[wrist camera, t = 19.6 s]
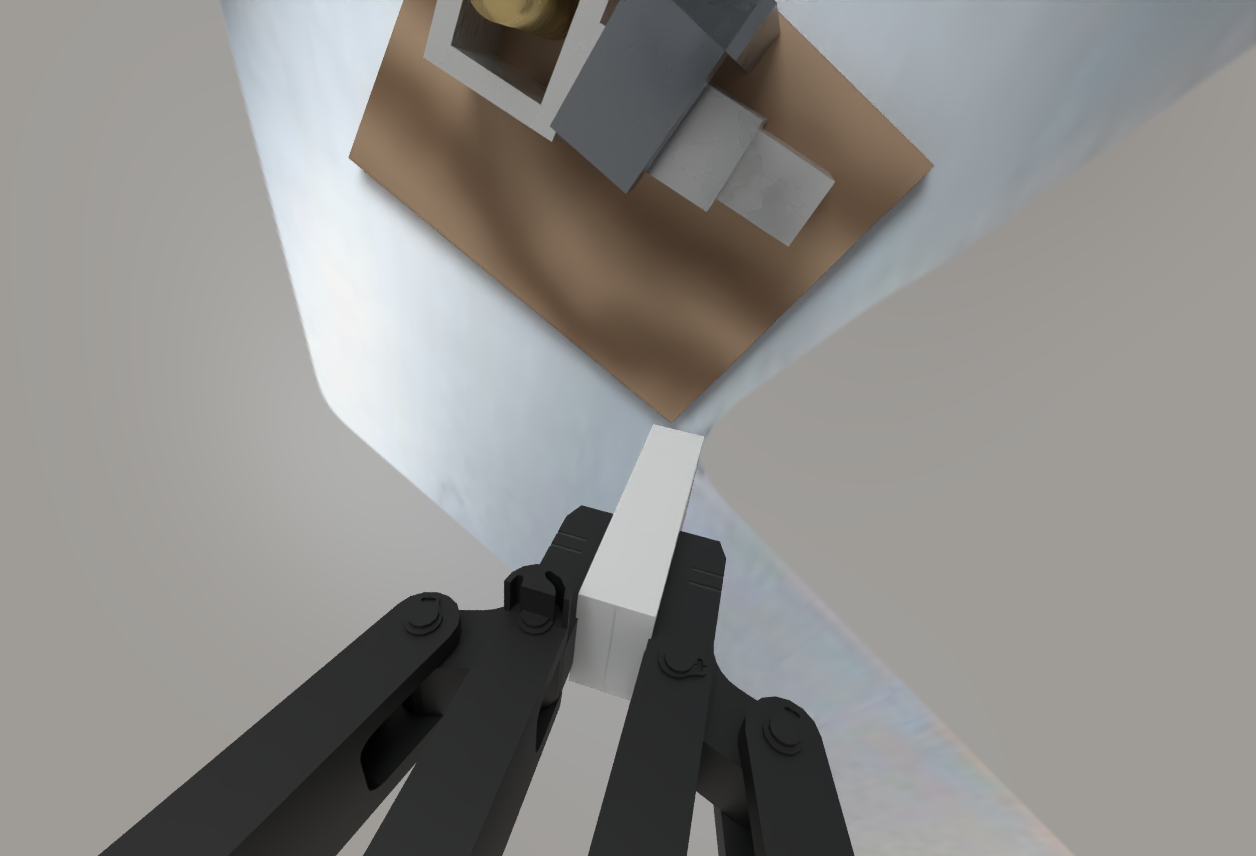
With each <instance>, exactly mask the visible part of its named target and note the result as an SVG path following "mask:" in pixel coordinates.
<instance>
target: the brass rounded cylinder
mask: <svg viewBox="0 0 1256 856" xmlns="http://www.w3.org/2000/svg"><path fill="white" fill-rule="evenodd" d="M470 1H471V3H472V5H473V6H474V8H475V9H476V10H477V11H478V13H479V14H480V15H482V16H483V17H484V18H486V19H488V20H490V21H492V22H495V23H499V24H502V25H505V26H508V27H512V28H515V29H518V30H521V31H525V32H528V33H531V34H535V35H538V36H541V37H544V38H548V39H551V40H557V41H558V40H563V39H566V36H567V34H568V31H569V28H570V26H571V23H572V20H573V18H574V15H575V12H576V10H577V7H578V4H579V2H580V0H470Z"/></svg>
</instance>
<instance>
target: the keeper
mask: <svg viewBox="0 0 1256 856" xmlns="http://www.w3.org/2000/svg"><path fill="white" fill-rule="evenodd" d="M780 33H781V31H780V23H779V15H778V8H777V3H776V2H775V1H774V0H620V1H619V3H618V5H617V6H616V8H615V10H614V12H613V14H612V15H611V17H610V19H609V21H608V23H607V24H606V26H605V28H604V30H603V32H602V33H601V35H600V37H599V39H598V40H597V42H596V44H595V46H594V48H593V49H592V51H591V53H590V55H589V57H588V58H587V60H586V62H585V64H584V66H583V67H582V69H581V71H580V73H579V75H578V76H577V78H576V80H575V82H574V83H573V85H572V87H571V89H570V91H569V92H568V94H567V96H566V98H565V100H564V101H563V103H562V105H561V107H560V109H559V110H558V112H557V114H556V116H555V118H554V119H553V121H552V123H551V125H550V127H551V128H552V129H553V130H554V131H555V132H556V133H558V134H559V135H560V136H561V137H562V138H563V139H564V140H566V141H567V142H568V143H569V144H570V145H571V146H572V147H573V148H575V149H576V150H577V151H578V152H579V153H580V154H581V155H582V156H584V157H585V158H586V159H587V160H588V161H589V162H590V163H592V164H593V165H594V166H595V167H596V168H597V169H598V170H599V171H601V172H602V173H603V174H604V175H605V176H606V177H607V178H609V179H610V180H611V181H612V182H613V183H614V184H615V185H616V186H618V187H619V188H620V189H621V190H622V191H623V192H624V193H625V194H627V193H629V192H631V191H633V190H634V189H635V187H636V186H637V184H638V183H639V181H640V180H641V178H642V177H643V176H644V174H645V173H646V171H647V170H648V168H649V167H650V166H651V164H652V163H653V161H654V160H655V158H656V157H657V156H658V154H659V153H660V151H661V150H662V148H663V147H664V146H665V144H666V143H667V141H668V140H669V138H670V137H671V136H672V134H673V133H674V131H675V130H676V128H677V127H678V125H679V124H680V123H681V121H682V120H683V118H684V117H685V115H686V114H687V113H688V111H689V110H690V108H691V107H692V105H693V104H694V103H695V101H696V100H697V98H698V97H699V95H700V94H701V93H702V91H703V90H704V88H705V87H706V85H707V84H708V83H709V81H710V80H711V78H712V77H713V75H714V74H715V72H716V71H717V70H718V68H719V67H720V65H721V64H722V62H723V61H724V60H725V58H726V57H727V55H728V54H729V55H730V56H731V57H732V58H733V59H734V60H735V61H736V62H737V63H738V64H739V65H740V66H741V67H742V68H743V69H745V70H746V71H747V72H748V73H749V74H751V72H752V71H753V70H754V68H755V67H756V66H757V64H758V63H759V62H760V60H761V59H762V57H763V56H764V55H765V53H766V52H767V51H768V49H769V48H770V47H771V45H772V44H773V43H774V41H775V40H776V38H777V37H778V36H779V34H780Z"/></svg>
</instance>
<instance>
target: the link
mask: <svg viewBox="0 0 1256 856" xmlns="http://www.w3.org/2000/svg"><path fill="white" fill-rule="evenodd" d="M619 1H620V0H580V2H579V4H578V7H577V10H576V12H575V15H574V18H573V20H572V23H571V26H570V28H569V31H568V34H567V36H566V39H565V42H564V44H563V47H562V50H561V52H560V55H559V58H558V60H557V63H556V66H555V69H554V71H553V74H552V77H551V79H550V82H549V85H548V87H547V88H545V87H544V86H542V85H541V84H539V83H538V82H536V81H535V80H533V79H532V78H530V77H529V76H527V75H526V74H524V73H523V72H521V71H520V70H518V69H517V68H515V67H514V66H512V65H511V64H509V63H508V62H506V61H505V60H503V59H502V58H500V57H499V56H497V55H496V54H495V53H496V50H497V46H498V43H499V40H500V37H501V34H502V30H503V27H504V25H502V24H499V23H495V22H492V21H490V20H488V19H486V18H484V17H483V16H482V15H480V14H479V13H478V11H477V10H476V9H475V8H474V6H473V5H472V3H471V1H470V0H437V3H436V7H435V11H434V16H433V20H432V24H431V28H430V32H429V36H428V40H427V44H426V48H425V52H424V56H423V58H425V59H426V60H428V61H430V62H431V63H433V64H434V65H436V66H437V67H439V68H440V69H442V70H443V71H445V72H446V73H448V74H449V75H451V76H452V77H454V78H455V79H457V80H458V81H460V82H461V83H463V84H464V85H466V86H468V87H469V88H471V89H472V90H474V91H475V92H477V93H478V94H480V95H481V96H483V97H484V98H486V99H487V100H489V101H490V102H492V103H493V104H495V105H496V106H498V107H499V108H501V109H502V110H504V111H506V112H507V113H509V114H510V115H512V116H513V117H515V118H516V119H518V120H519V121H521V122H522V123H524V124H525V125H527V126H528V127H530V128H531V129H533V130H534V131H536V132H537V133H539V134H540V135H542V136H544V137H545V138H547V139H548V140H550V141H551V142H556V141H564V139H563V138H562V137H561V136H560V135H559V134H558V133H556V132H555V131H554V130H553V129H552V128H551V127H550V125H551V123H552V121H553V119H554V118H555V116H556V114H557V112H558V110H559V109H560V107H561V105H562V103H563V101H564V100H565V98H566V96H567V94H568V92H569V91H570V89H571V87H572V85H573V83H574V82H575V80H576V78H577V76H578V75H579V73H580V71H581V69H582V67H583V66H584V64H585V62H586V60H587V58H588V57H589V55H590V53H591V51H592V49H593V48H594V46H595V44H596V42H597V40H598V39H599V37H600V35H601V33H602V32H603V30H604V28H605V26H606V24H607V23H608V21H609V19H610V17H611V15H612V14H613V12H614V10H615V8H616V6H617V5H618V3H619ZM767 120H768V119H766V118H765V117H764V116H762V115H761V114H759V113H758V112H756V111H755V110H753V109H752V108H750V107H749V106H747V105H746V104H744V103H743V102H741V101H740V100H738V99H737V98H736V97H734V96H733V95H731V94H730V93H728V92H727V91H725V90H724V89H722V88H721V87H719V86H718V85H716V84H715V83H713V82H712V81H709V83H708V84H707V85H706V87H705V88H704V90H703V91H702V93H701V94H700V95H699V97H698V98H697V100H696V101H695V103H694V104H693V105H692V107H691V108H690V110H689V111H688V113H687V114H686V115H685V117H684V118H683V120H682V121H681V123H680V124H679V125H678V127H677V128H676V130H675V131H674V133H673V134H672V136H671V137H670V138H669V140H668V141H667V143H666V144H665V146H664V147H663V148H662V150H661V151H660V153H659V154H658V156H657V157H656V158H655V160H654V161H653V163H652V164H651V166H650V167H649V168H648V170H647V171H646V172H647V173H649V174H650V175H652V176H653V177H655V178H656V179H658V180H659V181H661V182H662V183H664V184H665V185H667V186H668V187H670V188H671V189H673V190H674V191H676V192H677V193H679V194H680V195H682V196H683V197H685V198H686V199H688V200H689V201H691V202H692V203H694V204H695V205H697V206H698V207H700V208H701V209H703V210H704V211H706V212H708V210H709V209H710V208H711V207H712V206H713V205H714V203H715V202H716V201H717V200H719V201H720V202H722V203H723V204H725V205H726V206H728V207H729V208H731V209H732V210H734V211H735V212H737V213H738V214H740V215H741V216H743V217H744V218H746V219H747V220H749V221H750V222H752V223H753V224H755V225H756V226H758V227H759V228H761V229H762V230H764V231H765V232H767V233H768V234H770V235H771V236H773V237H774V238H776V239H777V240H779V241H780V242H782V243H783V244H785V245H786V246H788V247H789V245H790V244H791V242H792V241H793V240H794V238H795V237H796V235H797V234H798V233H799V231H800V230H801V229H802V227H803V226H804V224H805V223H806V222H807V220H808V219H809V217H810V216H811V215H812V213H813V212H814V211H815V209H816V208H817V206H818V205H819V204H820V202H821V201H822V200H823V198H824V197H825V195H826V194H827V193H828V191H829V190H830V188H831V187H832V186H833V184H834V183H835V181H834V179H833V177H832V176H831V174H830V173H829V172H828V171H826V170H825V169H823V168H822V167H820V166H819V165H818V164H816V163H815V162H813V161H812V160H810V159H809V158H807V157H806V156H804V155H803V154H801V153H800V152H798V151H797V150H795V149H794V148H792V147H791V146H789V145H788V144H786V143H785V142H784V141H782V140H781V139H779V138H778V137H776V136H775V135H773V134H772V133H770V132H769V131H767V130H766V129H764V128H763V126H764V125H765V123H766V121H767Z"/></svg>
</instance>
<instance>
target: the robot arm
mask: <svg viewBox="0 0 1256 856" xmlns="http://www.w3.org/2000/svg"><path fill="white" fill-rule="evenodd" d="M703 440H704V436H700V435H696V434H692V433H687V432H683V431H679V430H675V429H671V428H667V427H663V426H659V425H654V424H653V426H652V428H651V431H650V433H649V435H648V437H647V440H646V442H645V444H644V446H643V449H642V451H641V453H640V456H639V458H638V460H637V462H636V465H635V467H634V469H633V471H632V474H631V476H630V478H629V480H628V483H627V485H626V487H625V489H624V492H623V494H622V496H621V499H620V501H619V503H618V505H617V508H616V510H615V512H614V514H611V513H608V512H604V511H600V510H597V509H593V508H589V507H586V506H582V505H581V506H580V507H579V508H577V509H576V510H574V511H573V512H572V513H570V514H569V515H567V516H566V518H565V520H564V522H563V523H562V525H561V527H560V529H559V531H558V534H556V536H555V538H554V540H553V541H552V544H551V546H550V547H549V549H548V550H547V552H546V554H545V556H544V558H543V559H542V561H541V563H540V564H534V565H528V566H523V567H521V568H519V569H517V570H515V571H513V572H512V573H511V574H510V575H509V576H508V577H507V578H506V579H505V581H504V607H501V608H497V609H493V610H459V609H458V606H457V603H455V602H454V601H453V600H452V599H451V598H450V597H449V596H446V595H443V594H441V593H437V592H424V593H421V594H417V595H413V596H410V597H408V598H407V599H405V600H404V601H402V602H400V603H399V604H397V605H396V606H395V607H394V608H393V609H392V610H390V611H389V612H388V613H387V614H386V615H384V616H383V617H382V618H381V619H380V620H378V621H377V622H376V623H375V624H374V625H372V626H371V627H370V628H369V629H368V630H366V631H365V632H364V633H363V634H362V635H361V636H359V637H358V638H357V639H356V640H355V641H353V642H352V643H351V644H350V645H349V646H347V648H345V649H344V650H343V651H341V652H340V653H339V654H338V655H337V656H336V657H334V658H333V659H332V660H331V661H330V662H328V663H327V664H326V665H325V666H324V667H323V668H321V669H320V670H319V671H318V672H316V673H315V674H314V675H313V676H312V677H311V678H309V679H308V680H307V681H306V682H305V683H303V684H302V685H301V686H300V687H299V688H297V689H296V690H295V691H294V692H293V693H291V695H289V696H288V697H287V698H285V699H284V700H283V701H282V702H281V703H279V704H278V705H277V706H276V707H275V708H274V709H272V710H271V711H270V712H269V713H268V714H266V715H265V716H264V717H263V718H262V719H260V720H259V721H258V722H257V723H256V724H254V725H253V726H252V727H251V728H250V729H249V730H247V731H246V732H245V733H244V734H243V735H241V736H240V737H239V738H238V739H237V740H236V741H234V742H233V743H232V744H231V745H229V746H228V747H227V748H226V749H225V750H223V751H222V752H221V753H220V754H219V755H218V756H216V757H215V758H214V759H213V760H212V761H210V762H209V763H208V764H207V765H206V766H204V767H203V768H202V769H201V770H200V771H198V772H197V773H196V774H195V775H194V776H193V777H191V778H190V779H189V780H188V781H187V782H185V783H184V784H183V785H182V786H181V787H179V788H178V789H177V790H176V791H175V792H173V793H172V794H171V795H170V796H169V797H167V798H166V799H165V800H164V801H163V802H162V803H160V804H159V805H158V806H157V807H156V808H154V809H153V810H152V811H151V812H150V813H148V814H147V815H146V816H145V817H144V818H142V819H141V820H140V821H139V822H138V823H136V825H134V826H133V827H132V828H131V829H129V830H128V831H127V832H126V833H125V834H123V835H122V836H121V837H120V838H119V839H118V840H116V841H115V842H114V843H113V844H111V845H110V846H109V847H108V848H107V849H105V850H104V851H103V852H102V853H101V854H100V855H98V856H336V855H337V854H338V853H339V851H340V850H341V849H342V848H343V847H344V846H345V844H346V843H347V842H348V841H349V840H350V839H351V837H352V836H353V835H354V834H355V833H356V832H357V831H358V829H359V828H360V827H361V826H362V825H363V823H364V822H365V821H366V820H367V819H368V818H369V817H370V815H371V814H372V813H373V812H374V811H375V810H376V808H377V807H378V806H379V805H380V804H381V803H382V802H383V800H384V799H385V798H386V797H387V796H388V795H389V793H390V792H391V791H392V790H393V789H394V788H395V786H396V785H397V784H398V783H399V782H400V781H401V779H402V778H403V777H404V776H405V775H406V774H407V772H408V771H409V770H410V769H411V768H412V767H413V766H414V764H415V763H416V762H417V763H416V764H415V766H414V768H413V770H412V771H411V773H410V775H409V777H408V778H407V780H406V782H405V784H404V785H403V787H402V789H401V791H400V792H399V794H398V796H397V798H396V799H395V801H394V803H393V804H392V806H391V808H390V810H389V811H388V814H387V815H386V817H385V819H384V820H383V822H382V824H381V825H380V827H379V829H378V831H377V832H376V834H375V836H374V838H373V839H372V841H371V843H370V845H369V846H368V848H367V850H366V852H365V853H364V855H363V856H502V855H503V852H504V850H505V847H506V845H507V842H508V839H509V837H510V834H511V832H512V829H513V826H514V824H515V821H516V819H517V816H518V814H519V811H520V808H521V806H522V803H523V801H524V798H525V795H526V793H527V790H528V787H529V785H530V782H531V780H532V777H533V775H534V772H535V769H536V767H537V764H538V761H539V759H540V757H541V754H542V751H543V749H544V746H545V744H546V741H547V738H548V736H549V733H550V731H551V728H552V725H553V723H554V720H555V718H556V715H557V713H558V710H559V707H560V703H561V697H562V689H563V687H564V684H565V681H566V679H567V677H568V674H569V671H570V676H569V681H573V682H576V683H579V684H582V685H585V686H588V687H591V688H594V689H597V690H600V691H603V692H606V693H610V694H612V695H616V696H619V697H622V698H625V699H628V700H631V702H630V705H629V709H628V712H627V716H626V720H625V723H624V727H623V730H622V734H621V738H620V741H619V745H618V749H617V752H616V756H615V759H614V763H613V767H612V771H611V774H610V778H609V781H608V785H607V788H606V792H605V796H604V799H603V803H602V806H601V810H600V814H599V817H598V821H597V825H596V828H595V832H594V835H593V839H592V843H591V846H590V851H589V854H588V856H687V850H688V843H689V836H690V829H691V822H692V815H693V807H694V801H695V794H696V791H697V792H698V793H699V794H701V795H702V796H703V797H705V798H706V799H707V800H708V801H710V802H711V803H712V804H713V805H714V814H715V825H716V834H717V844H718V854H719V856H854V852H853V849H852V845H851V842H850V838H849V834H848V831H847V827H846V824H845V820H844V817H843V813H842V809H841V806H840V802H839V799H838V795H837V792H836V788H835V784H834V781H833V777H832V774H831V770H830V766H829V763H828V759H827V756H826V752H825V749H824V745H823V741H822V738H821V735H820V733H819V731H818V729H817V727H816V724H815V722H814V721H813V720H812V719H811V718H810V716H809V715H808V714H807V713H806V712H805V711H804V710H803V709H802V708H801V707H799V706H797V705H796V704H794V703H793V702H791V701H790V700H786V699H783V698H779V697H766V698H761V699H759V700H758V701H757V700H755V699H754V698H752V697H751V696H749V695H748V694H746V693H745V692H743V691H742V690H740V689H738V688H737V687H736V686H735V685H733V684H732V683H731V682H730V681H729V680H728V679H727V678H726V677H725V676H724V674H723V673H722V672H721V670H720V668H719V667H718V665H717V663H716V660H715V656H714V639H715V632H716V625H717V618H718V611H719V604H720V597H721V590H722V584H723V576H724V570H725V563H726V557H725V554H724V552H723V549H722V546H721V544H720V542H719V541H716V540H712V539H708V538H705V537H701V536H697V535H694V534H690V533H686V532H682V531H681V530H682V527H683V523H684V519H685V515H686V511H687V507H688V503H689V499H690V495H691V490H692V486H693V482H694V478H695V474H696V469H697V465H698V461H699V457H700V452H701V448H702V444H703Z"/></svg>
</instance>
